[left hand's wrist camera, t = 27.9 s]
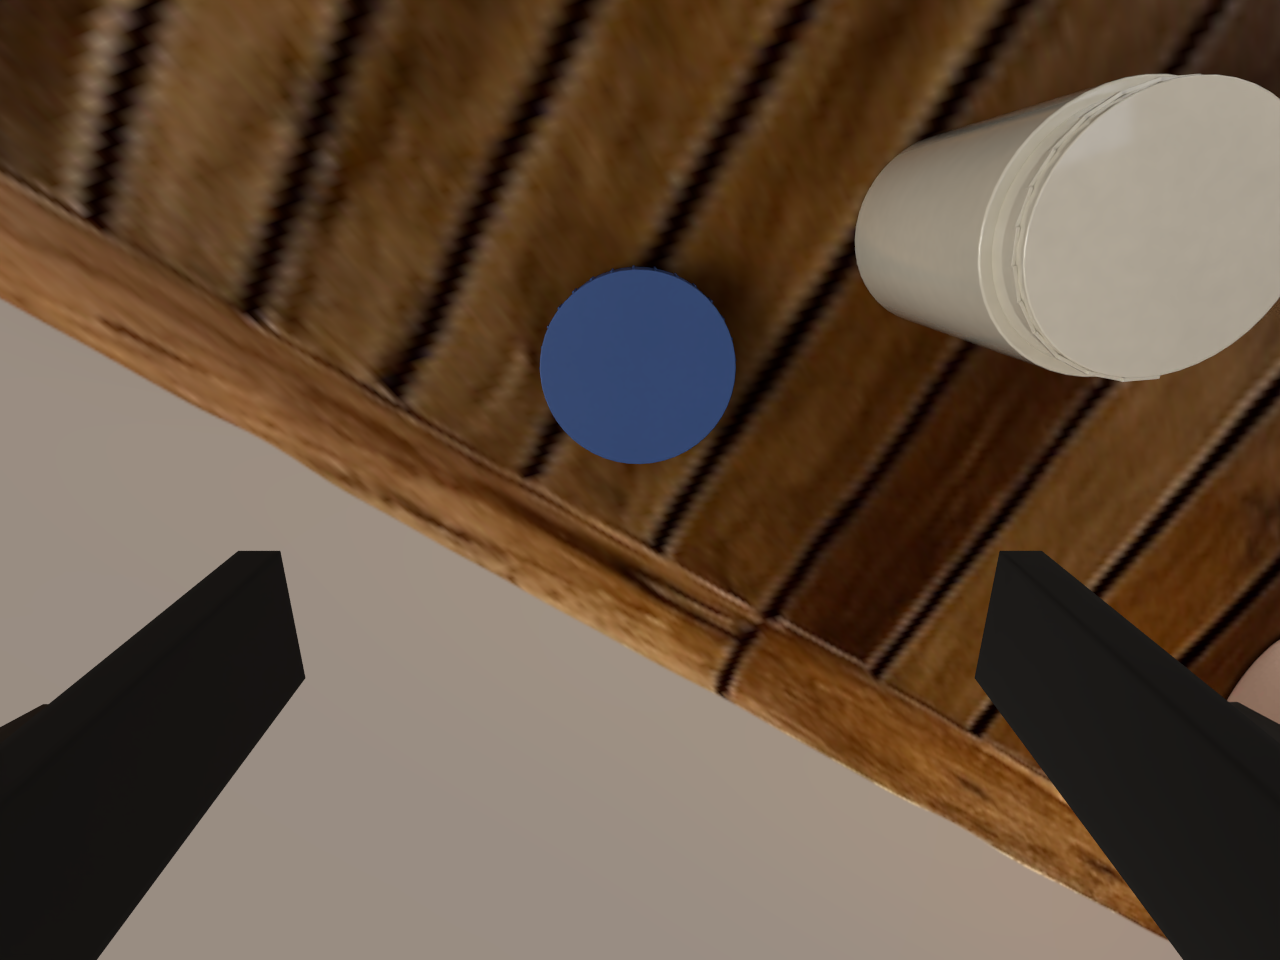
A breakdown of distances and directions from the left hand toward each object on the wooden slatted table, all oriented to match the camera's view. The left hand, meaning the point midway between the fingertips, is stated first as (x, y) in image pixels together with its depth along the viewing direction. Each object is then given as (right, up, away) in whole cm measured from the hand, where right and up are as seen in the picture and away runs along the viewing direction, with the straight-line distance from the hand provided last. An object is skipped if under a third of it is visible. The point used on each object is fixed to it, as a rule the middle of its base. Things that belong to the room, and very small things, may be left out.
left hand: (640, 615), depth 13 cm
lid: (0, +8, +23) cm, 25 cm away
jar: (+16, +15, +23) cm, 32 cm away
